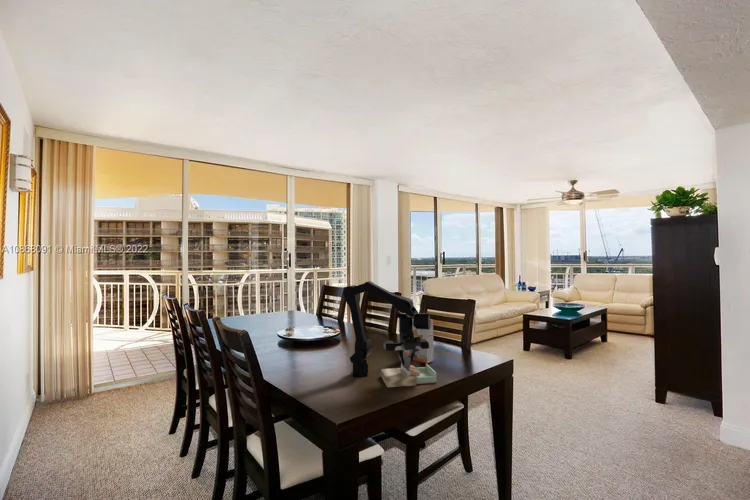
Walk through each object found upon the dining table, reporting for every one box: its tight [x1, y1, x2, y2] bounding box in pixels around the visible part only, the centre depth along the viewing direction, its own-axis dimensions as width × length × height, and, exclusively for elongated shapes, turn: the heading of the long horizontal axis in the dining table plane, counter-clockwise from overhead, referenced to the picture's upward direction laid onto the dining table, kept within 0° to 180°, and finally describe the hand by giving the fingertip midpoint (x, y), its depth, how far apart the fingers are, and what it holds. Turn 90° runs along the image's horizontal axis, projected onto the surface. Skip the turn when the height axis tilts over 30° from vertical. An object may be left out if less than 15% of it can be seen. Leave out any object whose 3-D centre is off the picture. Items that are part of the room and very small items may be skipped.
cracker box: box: [404, 318, 435, 365], centre depth 187 cm, size 14×6×21 cm, turn 45°
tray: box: [414, 363, 438, 385], centre depth 161 cm, size 8×13×4 cm, turn 10°
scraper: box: [400, 354, 411, 376], centre depth 159 cm, size 2×11×6 cm, turn 9°
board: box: [380, 367, 417, 388], centre depth 158 cm, size 12×14×3 cm
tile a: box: [409, 368, 420, 376], centre depth 157 cm, size 4×4×2 cm
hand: (406, 365), depth 159 cm, fingers closed on scraper, 3 cm apart
